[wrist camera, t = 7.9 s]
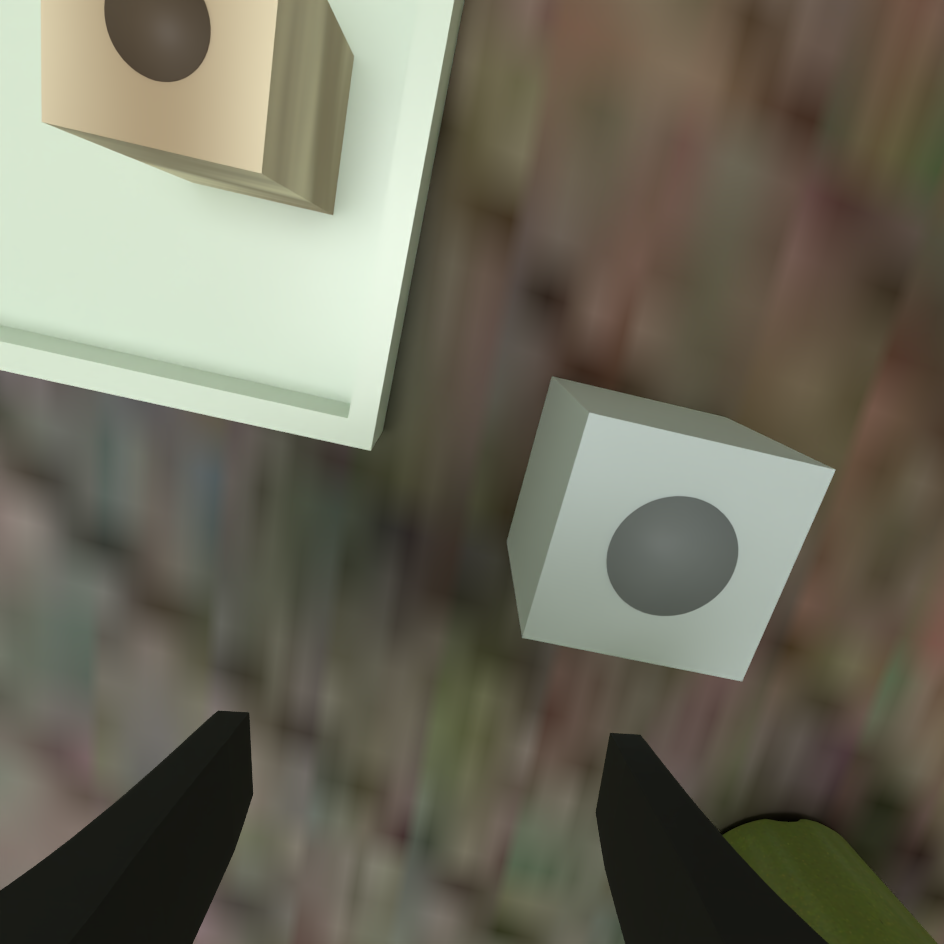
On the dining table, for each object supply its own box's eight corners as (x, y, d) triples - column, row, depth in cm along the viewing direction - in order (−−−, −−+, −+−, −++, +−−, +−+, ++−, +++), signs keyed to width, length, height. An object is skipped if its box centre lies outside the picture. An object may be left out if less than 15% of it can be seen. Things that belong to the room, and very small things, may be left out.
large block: (724, 416, 19) (836, 470, 13) (666, 574, 21) (742, 683, 15) (551, 375, 19) (590, 413, 13) (506, 540, 20) (522, 639, 15)
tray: (479, -79, 15) (482, -150, 12) (382, 430, 19) (370, 450, 17) (-170, -270, 14) (-305, -389, 11) (-124, 318, 18) (-216, 322, 15)
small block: (354, 55, 15) (285, -88, 9) (333, 214, 16) (260, 173, 11) (203, 18, 15) (37, -155, 9) (192, 182, 16) (39, 120, 10)
